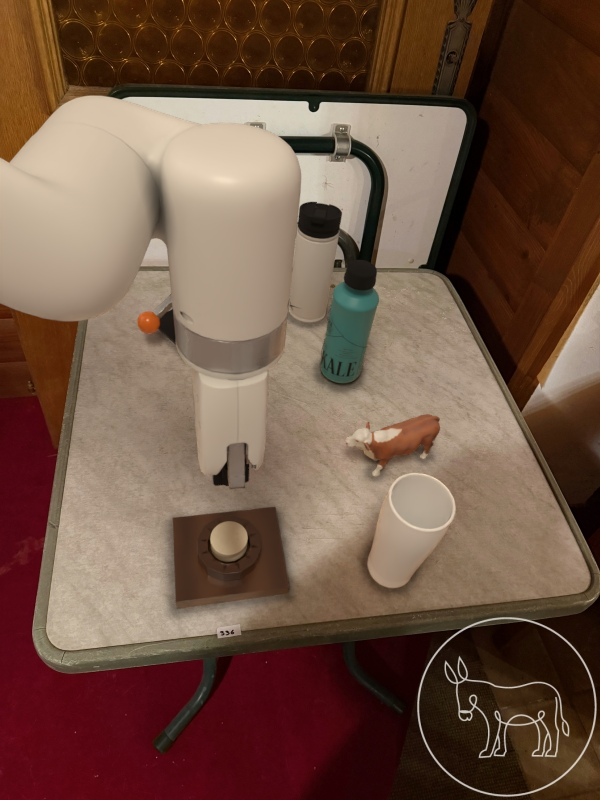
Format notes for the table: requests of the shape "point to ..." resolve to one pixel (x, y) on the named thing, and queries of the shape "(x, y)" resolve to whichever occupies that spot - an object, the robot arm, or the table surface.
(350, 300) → the beverage bottle
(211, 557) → the control block
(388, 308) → the table surface
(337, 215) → the travel mug
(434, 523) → the drinking glass
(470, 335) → the table surface
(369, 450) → the bull figurine
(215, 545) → the stop button
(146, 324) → the lever
